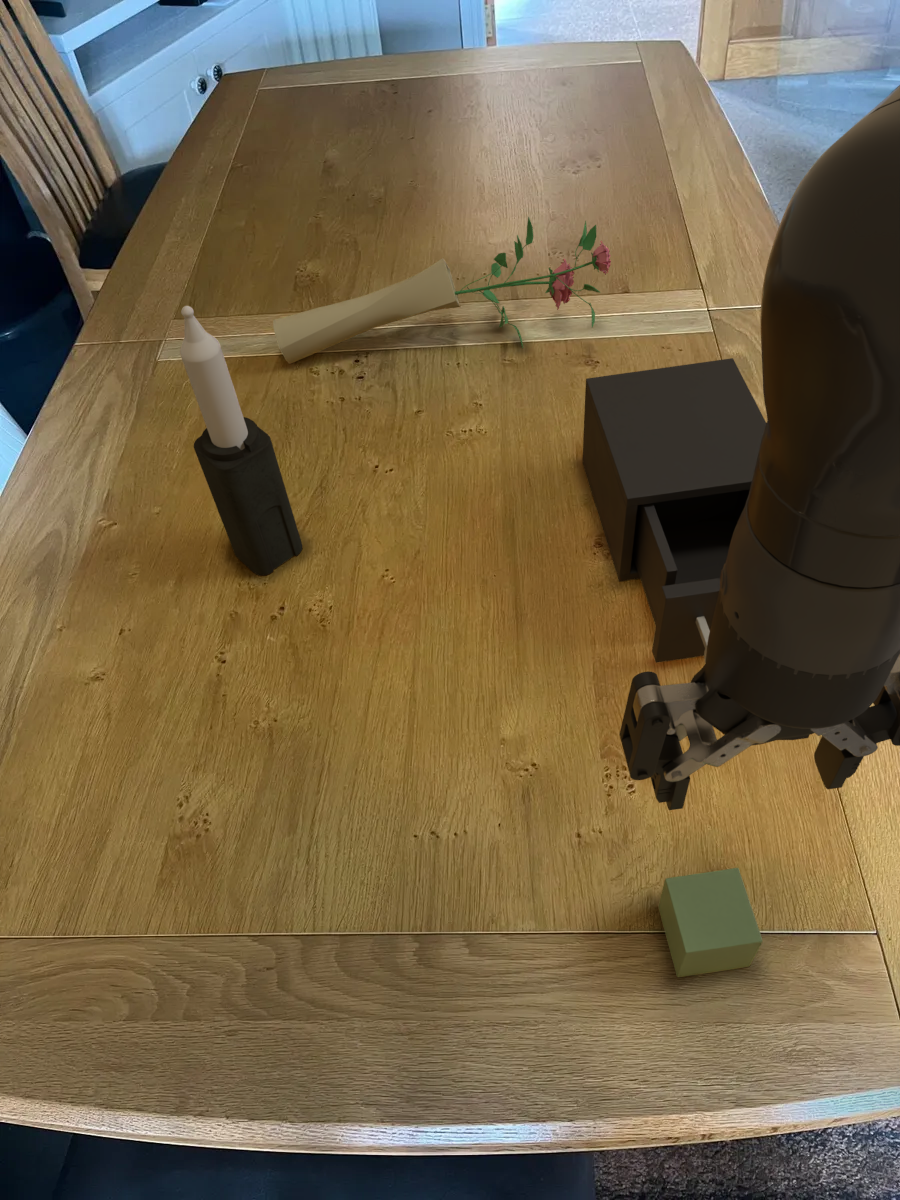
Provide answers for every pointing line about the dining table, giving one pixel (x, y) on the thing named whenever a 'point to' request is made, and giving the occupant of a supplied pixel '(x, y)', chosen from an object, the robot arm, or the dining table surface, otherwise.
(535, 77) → the dining table surface
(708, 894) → the block
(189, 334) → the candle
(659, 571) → the drawer
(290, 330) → the flower vase
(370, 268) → the dining table surface
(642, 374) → the cabinet
